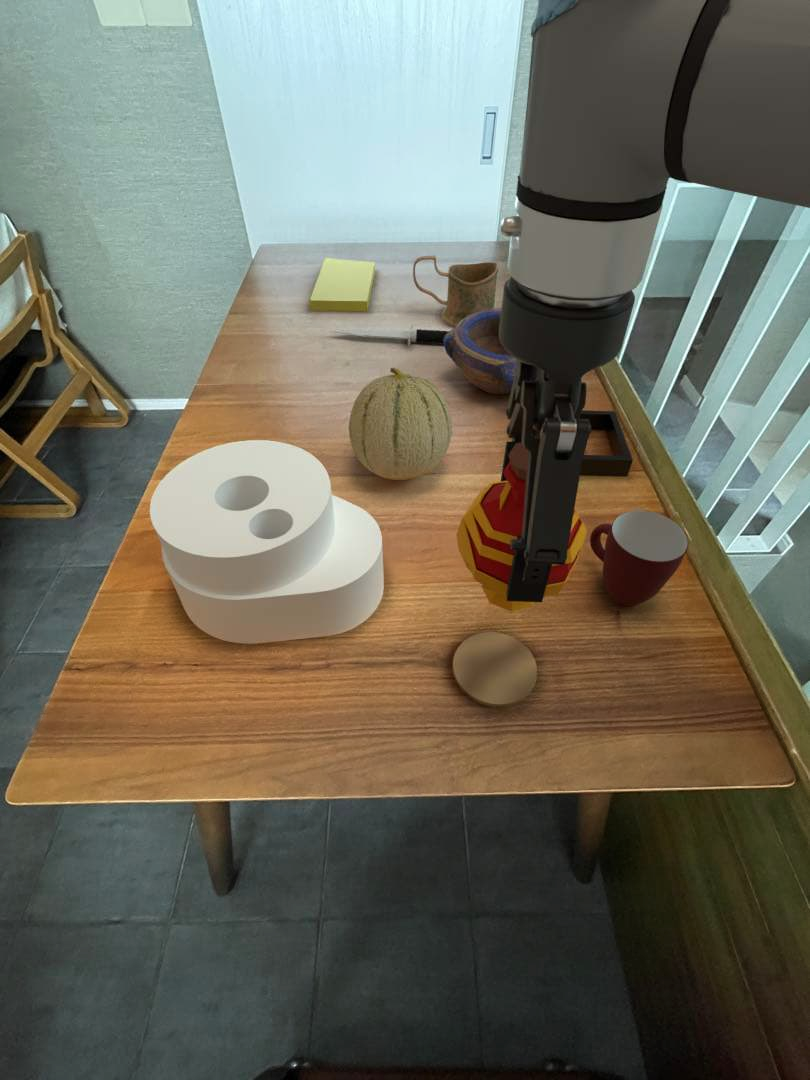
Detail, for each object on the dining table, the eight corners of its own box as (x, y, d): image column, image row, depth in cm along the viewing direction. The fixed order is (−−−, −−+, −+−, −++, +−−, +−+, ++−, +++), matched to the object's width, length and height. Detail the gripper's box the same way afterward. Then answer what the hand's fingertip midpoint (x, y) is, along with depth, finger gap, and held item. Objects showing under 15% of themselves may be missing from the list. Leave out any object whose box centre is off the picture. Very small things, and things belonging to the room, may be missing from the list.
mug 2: (560, 580, 72) (577, 521, 65) (598, 548, 76) (618, 489, 68) (635, 632, 66) (663, 574, 59) (672, 595, 70) (703, 536, 63)
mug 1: (413, 304, 127) (414, 245, 118) (495, 305, 127) (501, 246, 118) (412, 328, 119) (412, 267, 110) (498, 330, 118) (506, 268, 110)
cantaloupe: (385, 515, 80) (381, 422, 69) (333, 459, 89) (323, 370, 78) (470, 476, 86) (479, 386, 75) (414, 428, 94) (415, 341, 84)
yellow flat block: (367, 311, 125) (375, 267, 141) (366, 301, 123) (375, 258, 140) (310, 310, 125) (326, 267, 142) (309, 300, 123) (325, 257, 140)
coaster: (552, 664, 63) (553, 661, 63) (506, 724, 59) (507, 721, 58) (483, 621, 67) (483, 618, 67) (435, 673, 63) (435, 670, 62)
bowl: (497, 422, 95) (505, 367, 88) (430, 377, 106) (431, 323, 99) (573, 388, 103) (585, 334, 96) (503, 348, 113) (509, 296, 106)
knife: (461, 326, 114) (460, 338, 111) (460, 338, 116) (459, 350, 113) (331, 319, 116) (326, 330, 113) (332, 331, 118) (327, 342, 115)
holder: (627, 476, 86) (633, 460, 84) (541, 473, 86) (544, 457, 84) (610, 426, 95) (615, 411, 92) (532, 424, 95) (535, 409, 93)
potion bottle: (507, 532, 58) (530, 402, 48) (591, 594, 53) (638, 462, 42) (428, 583, 54) (434, 451, 43) (511, 657, 48) (541, 527, 37)
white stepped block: (359, 667, 63) (350, 586, 53) (149, 626, 67) (105, 543, 57) (400, 539, 77) (399, 455, 67) (224, 511, 81) (199, 428, 71)
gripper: (494, 215, 42) (470, 461, 58) (523, 384, 26) (478, 660, 42) (599, 217, 42) (546, 463, 57) (695, 389, 26) (584, 665, 41)
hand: (518, 546), depth 50 cm, fingers closed on potion bottle, 10 cm apart
